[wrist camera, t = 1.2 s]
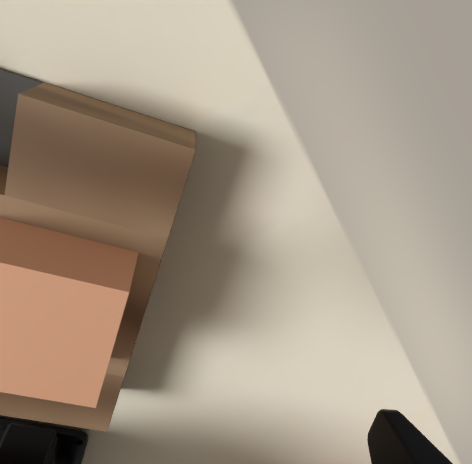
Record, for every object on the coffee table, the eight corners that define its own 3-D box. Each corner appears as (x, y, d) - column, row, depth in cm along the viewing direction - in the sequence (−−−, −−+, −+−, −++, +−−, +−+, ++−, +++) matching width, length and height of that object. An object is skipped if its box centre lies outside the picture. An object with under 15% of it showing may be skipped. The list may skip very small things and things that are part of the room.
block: (108, 357, 21) (95, 408, 18) (-27, 331, 19) (-62, 381, 17) (138, 252, 18) (129, 292, 16) (-12, 214, 17) (-51, 250, 14)
